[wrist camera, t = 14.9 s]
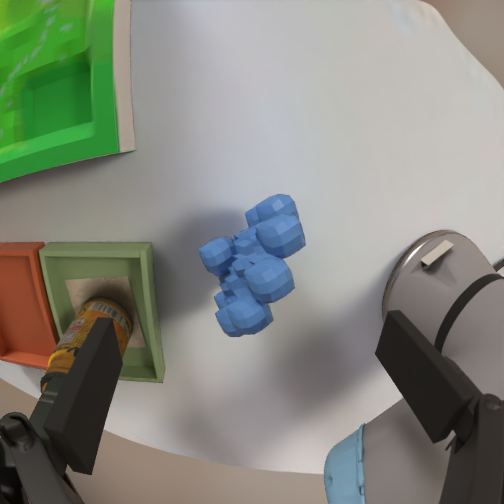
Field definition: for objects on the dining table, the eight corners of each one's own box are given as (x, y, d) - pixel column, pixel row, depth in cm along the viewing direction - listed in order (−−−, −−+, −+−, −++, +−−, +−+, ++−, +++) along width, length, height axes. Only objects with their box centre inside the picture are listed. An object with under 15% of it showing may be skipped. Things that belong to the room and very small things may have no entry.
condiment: (87, 346, 30) (51, 424, 19) (65, 279, 27) (7, 348, 16) (146, 345, 31) (124, 433, 20) (128, 274, 28) (86, 352, 17)
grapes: (224, 165, 26) (230, 182, 15) (295, 192, 27) (348, 229, 16) (183, 281, 29) (167, 363, 18) (248, 301, 31) (266, 386, 19)
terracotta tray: (43, 242, 26) (32, 250, 24) (73, 360, 31) (66, 373, 29) (-24, 242, 25) (-36, 250, 22) (8, 349, 30) (0, 360, 28)
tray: (-39, 16, 14) (-61, 9, 9) (136, -66, 16) (126, -90, 11) (-44, 198, 22) (-70, 209, 18) (135, 150, 24) (118, 152, 20)
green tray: (151, 241, 27) (146, 251, 25) (165, 368, 33) (162, 383, 30) (49, 242, 26) (38, 250, 24) (78, 361, 31) (72, 374, 29)
